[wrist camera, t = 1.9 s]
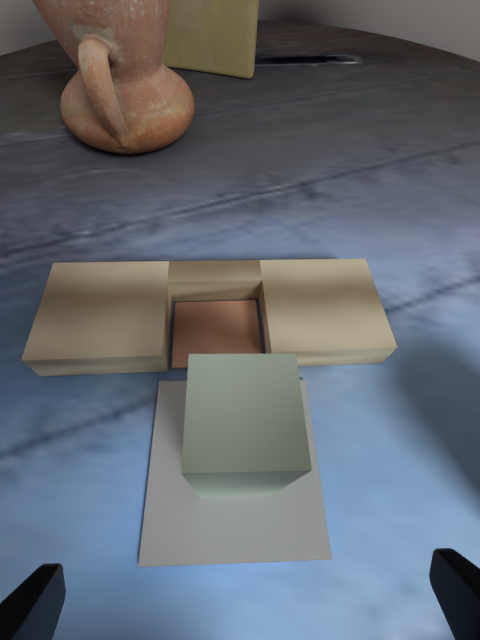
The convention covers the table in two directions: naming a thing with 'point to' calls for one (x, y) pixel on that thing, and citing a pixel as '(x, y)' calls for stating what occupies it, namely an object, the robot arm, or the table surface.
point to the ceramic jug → (119, 74)
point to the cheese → (212, 36)
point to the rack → (205, 314)
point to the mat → (224, 506)
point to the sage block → (243, 425)
